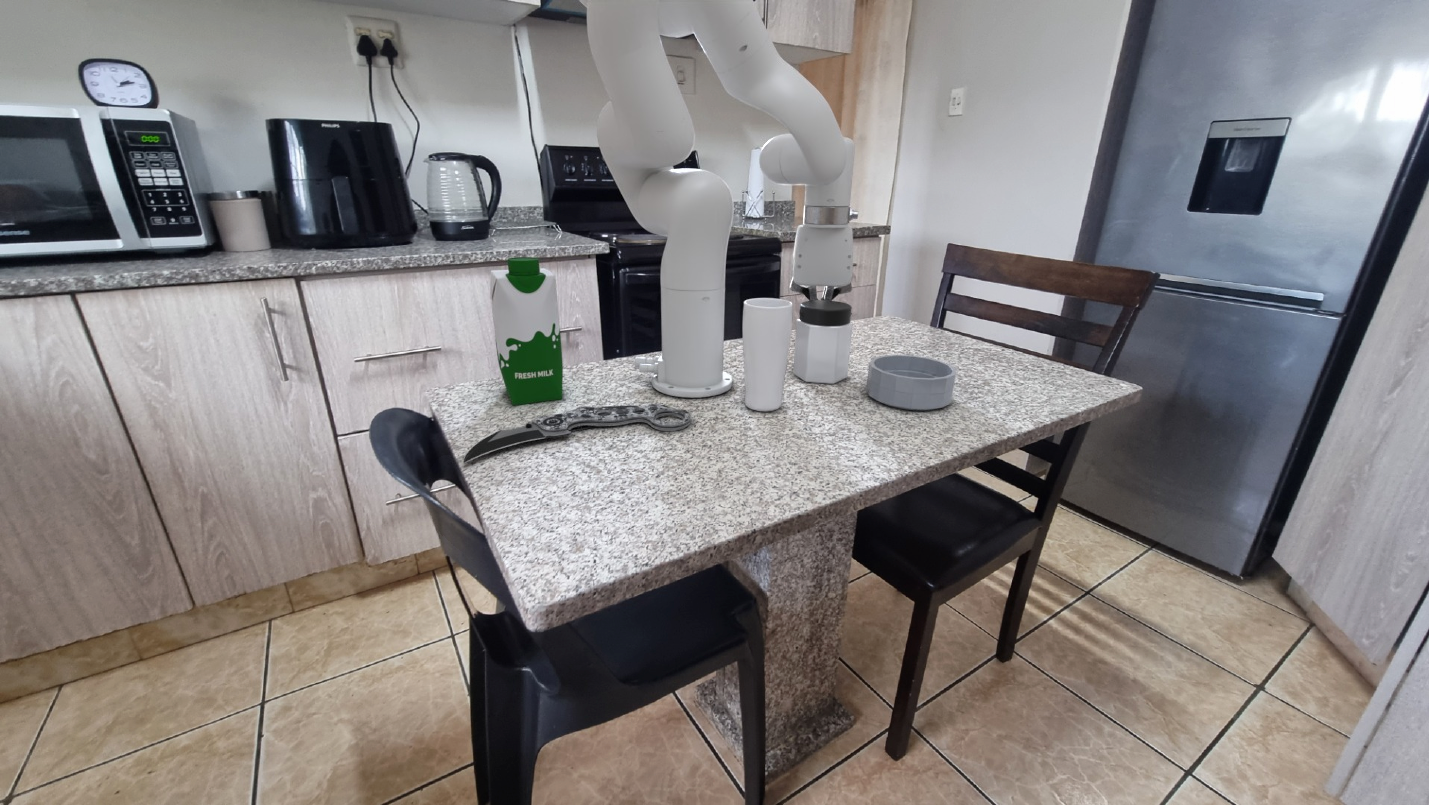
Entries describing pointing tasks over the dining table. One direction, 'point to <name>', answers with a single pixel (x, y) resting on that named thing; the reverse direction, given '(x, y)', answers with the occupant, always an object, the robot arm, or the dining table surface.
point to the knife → (580, 424)
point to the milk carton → (527, 331)
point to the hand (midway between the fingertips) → (817, 324)
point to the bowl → (911, 382)
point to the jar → (823, 341)
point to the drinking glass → (766, 350)
